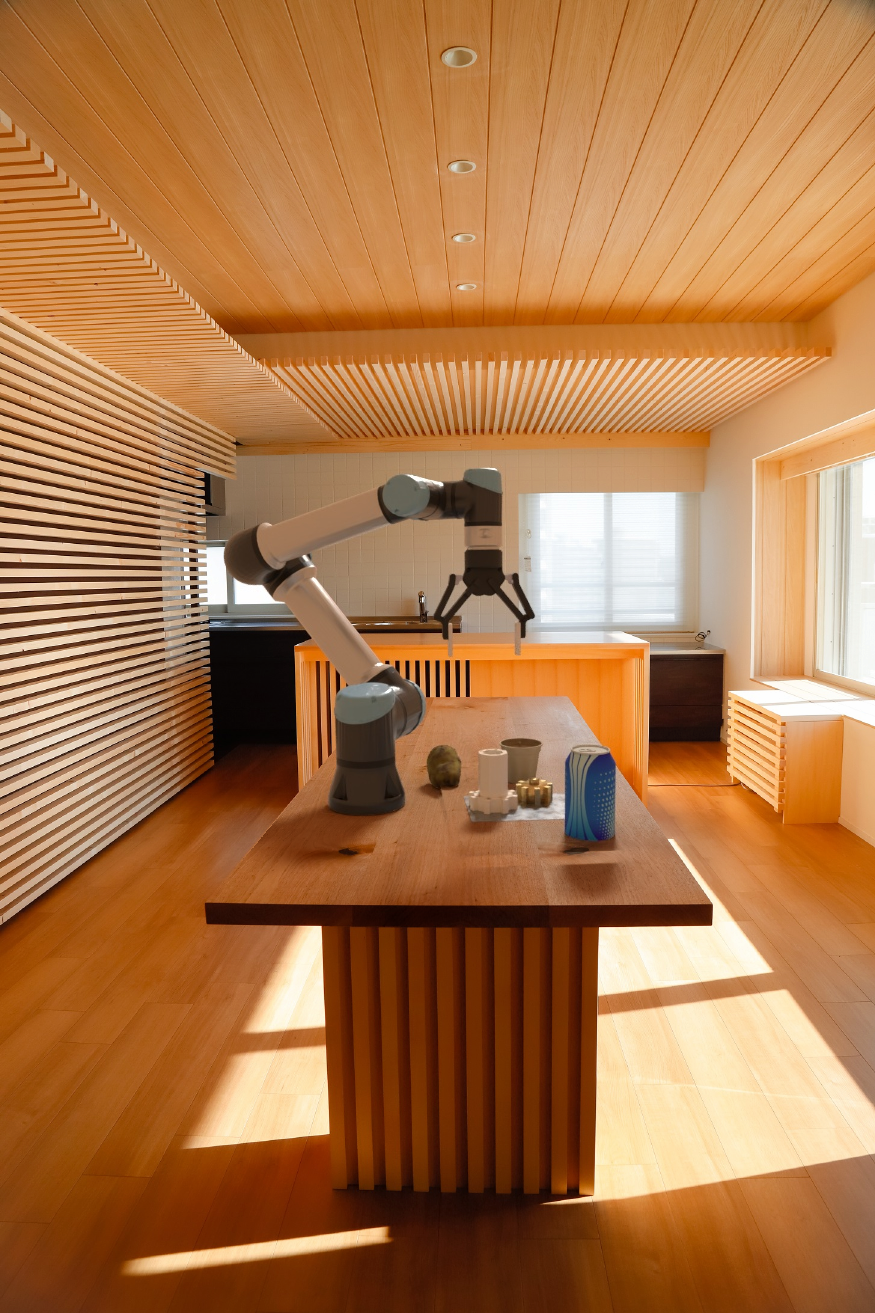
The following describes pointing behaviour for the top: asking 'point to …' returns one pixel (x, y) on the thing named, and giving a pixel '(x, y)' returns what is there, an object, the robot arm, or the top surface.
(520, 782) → the plate
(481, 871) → the top surface
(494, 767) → the planet gear
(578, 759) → the beer can
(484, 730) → the top surface
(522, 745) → the flower pot
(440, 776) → the potato
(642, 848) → the top surface
